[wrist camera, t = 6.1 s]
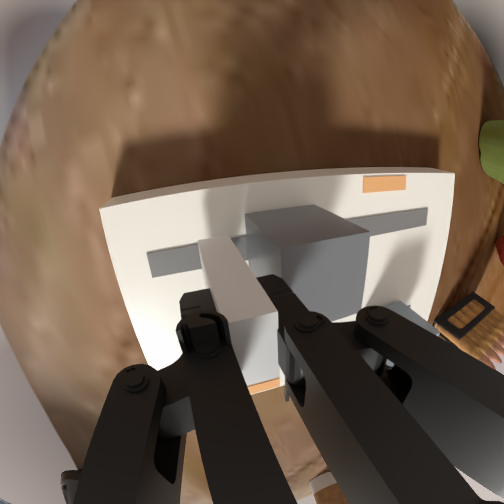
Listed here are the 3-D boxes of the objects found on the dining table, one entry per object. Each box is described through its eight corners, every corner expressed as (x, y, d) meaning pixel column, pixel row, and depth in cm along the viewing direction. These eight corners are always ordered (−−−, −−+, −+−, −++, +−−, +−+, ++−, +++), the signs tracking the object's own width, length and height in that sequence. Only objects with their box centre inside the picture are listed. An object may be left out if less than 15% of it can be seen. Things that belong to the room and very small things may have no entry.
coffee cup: (308, 477, 41) (336, 530, 28) (342, 464, 44) (372, 512, 30) (299, 488, 44) (324, 536, 31) (331, 477, 47) (357, 521, 33)
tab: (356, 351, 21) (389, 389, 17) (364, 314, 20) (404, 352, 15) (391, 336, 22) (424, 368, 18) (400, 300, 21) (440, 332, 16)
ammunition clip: (431, 329, 31) (488, 379, 20) (434, 319, 30) (494, 369, 19) (470, 301, 33) (521, 338, 22) (473, 291, 32) (526, 328, 21)
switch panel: (168, 384, 21) (170, 411, 18) (111, 197, 15) (98, 209, 12) (408, 312, 27) (426, 326, 24) (430, 167, 21) (455, 173, 18)
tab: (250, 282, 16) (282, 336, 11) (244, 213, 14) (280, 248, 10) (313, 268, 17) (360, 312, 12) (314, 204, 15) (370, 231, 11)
